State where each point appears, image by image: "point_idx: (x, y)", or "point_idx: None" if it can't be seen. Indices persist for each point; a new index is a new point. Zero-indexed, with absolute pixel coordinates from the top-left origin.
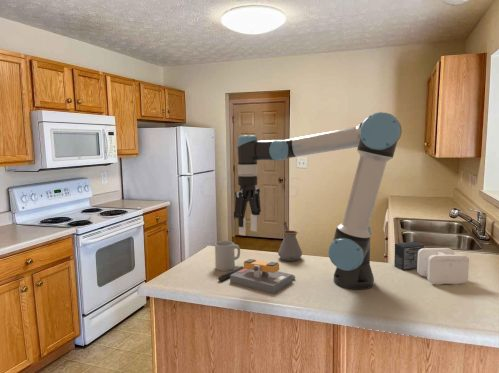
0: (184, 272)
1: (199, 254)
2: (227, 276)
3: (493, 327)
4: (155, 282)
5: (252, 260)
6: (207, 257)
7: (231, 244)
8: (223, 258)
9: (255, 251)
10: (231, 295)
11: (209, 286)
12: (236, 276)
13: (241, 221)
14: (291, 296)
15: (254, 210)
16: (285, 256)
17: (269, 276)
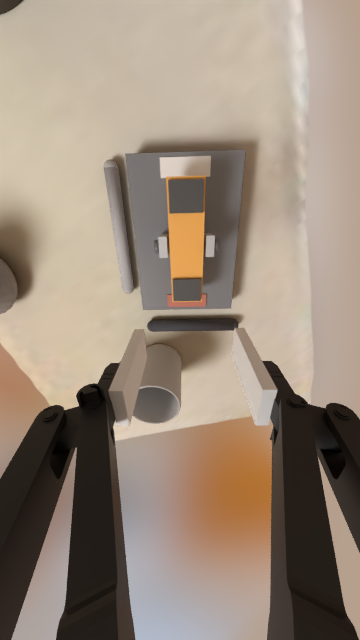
0: (228, 399)
1: (134, 435)
2: (215, 320)
3: None
4: None
5: (183, 284)
6: None
7: None
8: (177, 371)
9: (30, 372)
10: (293, 251)
11: (268, 322)
12: (231, 290)
13: (288, 386)
14: (229, 88)
15: (110, 437)
16: (11, 275)
17: None
